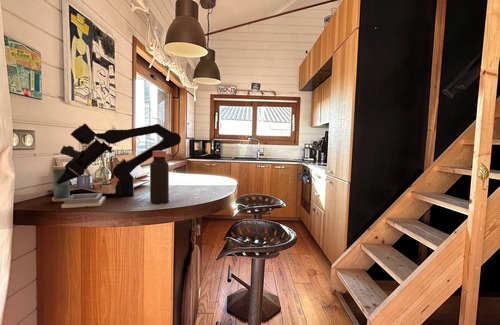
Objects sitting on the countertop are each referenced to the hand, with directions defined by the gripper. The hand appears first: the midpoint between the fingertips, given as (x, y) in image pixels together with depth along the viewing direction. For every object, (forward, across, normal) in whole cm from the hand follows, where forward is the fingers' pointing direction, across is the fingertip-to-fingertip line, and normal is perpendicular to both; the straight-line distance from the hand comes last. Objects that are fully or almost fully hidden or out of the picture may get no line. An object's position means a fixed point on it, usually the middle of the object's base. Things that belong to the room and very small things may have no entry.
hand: (59, 181), depth 98 cm
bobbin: (+4, 0, +6) cm, 7 cm away
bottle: (-19, +19, +29) cm, 39 cm away
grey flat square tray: (-1, +9, +11) cm, 14 cm away
